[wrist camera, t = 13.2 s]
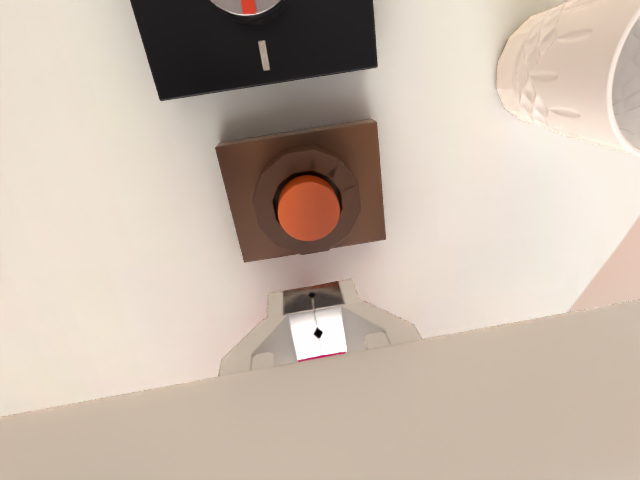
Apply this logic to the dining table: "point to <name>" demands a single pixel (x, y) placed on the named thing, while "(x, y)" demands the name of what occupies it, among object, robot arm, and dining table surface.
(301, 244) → the button box
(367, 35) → the hob panel
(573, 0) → the white cup
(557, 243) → the dining table surface
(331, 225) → the button
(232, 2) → the hob knob
